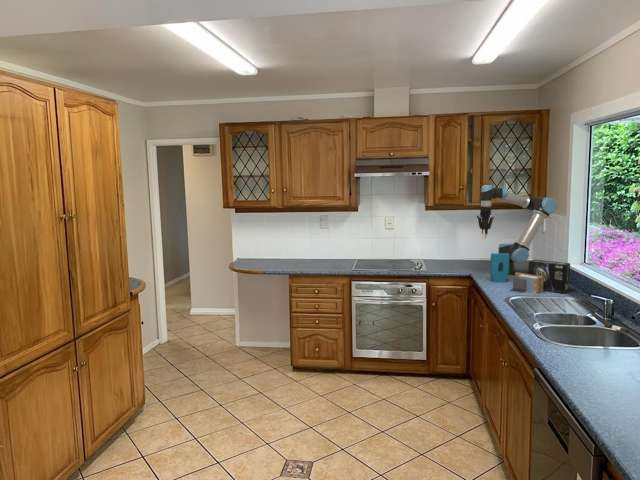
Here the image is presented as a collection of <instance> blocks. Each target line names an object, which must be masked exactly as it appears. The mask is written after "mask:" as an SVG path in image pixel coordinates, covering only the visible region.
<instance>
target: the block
mask: <svg viewBox="0 0 640 480" xmlns="http://www.w3.org/2000/svg"><path fill="white" fill-rule="evenodd" d="M509 258H510V254H507V253H499V252H498V253H497V252H496V253H494V252H492V253H490V266H489V267H490V268H489V269H490V270H489V273H490V277H491V282H493V283H507V279H508V276H509V275H510V274H509ZM500 262H501V271H499V272H498V268H499V263H500Z"/></svg>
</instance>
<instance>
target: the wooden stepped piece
mask: <svg viewBox="0 0 640 480" xmlns="http://www.w3.org/2000/svg"><path fill="white" fill-rule="evenodd" d="M521 274H524V275H530V274H528V273H523V272H517V271H516V273H515V274H514V278H518V275H521ZM530 276H537V275H530ZM537 277H538V278H535V285H534V293H533V294H534V295H537V294H539V293H540V294H541V293H543V292H544V291H543V284H544V277H543V276H537Z"/></svg>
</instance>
